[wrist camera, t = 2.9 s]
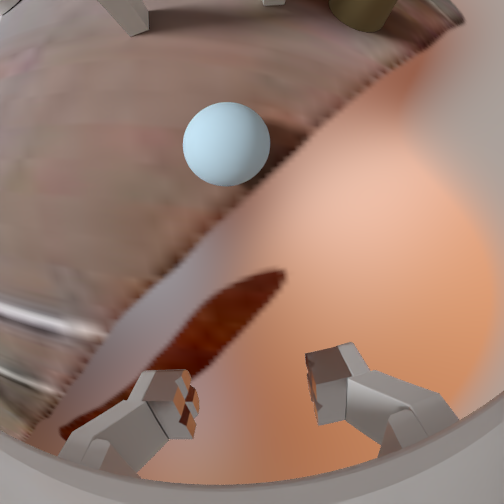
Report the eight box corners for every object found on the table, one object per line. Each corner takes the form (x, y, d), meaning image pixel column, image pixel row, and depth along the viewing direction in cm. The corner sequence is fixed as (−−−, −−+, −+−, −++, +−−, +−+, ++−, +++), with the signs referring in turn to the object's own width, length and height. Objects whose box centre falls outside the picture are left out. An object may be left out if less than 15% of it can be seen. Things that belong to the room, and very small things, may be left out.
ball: (187, 123, 20) (166, 103, 14) (260, 109, 20) (263, 82, 14) (199, 193, 21) (181, 195, 16) (273, 179, 21) (282, 176, 15)
